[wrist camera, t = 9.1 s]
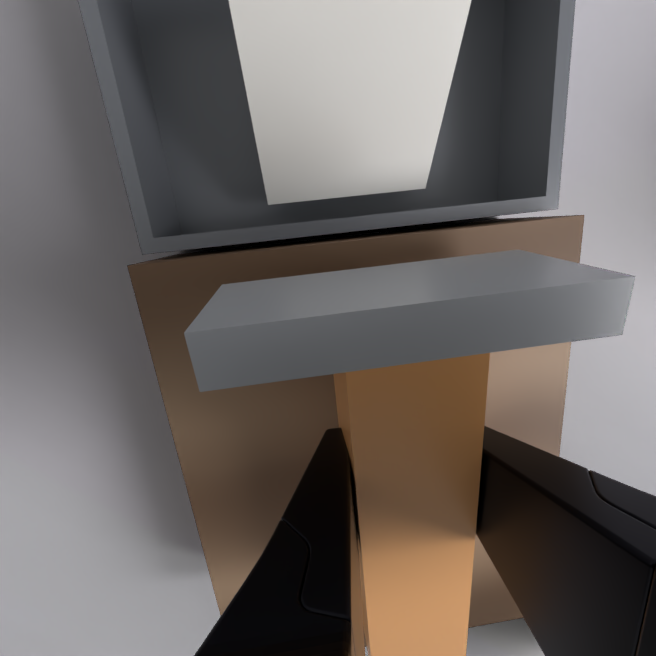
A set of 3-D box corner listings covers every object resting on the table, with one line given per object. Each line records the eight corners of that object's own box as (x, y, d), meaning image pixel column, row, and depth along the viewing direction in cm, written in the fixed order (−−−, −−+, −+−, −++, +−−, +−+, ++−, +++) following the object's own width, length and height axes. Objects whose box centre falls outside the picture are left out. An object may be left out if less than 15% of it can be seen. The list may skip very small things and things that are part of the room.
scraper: (488, 544, 12) (550, 651, 9) (284, 578, 11) (283, 702, 9) (518, 249, 8) (635, 275, 5) (222, 284, 8) (184, 332, 5)
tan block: (488, 529, 17) (542, 614, 14) (248, 569, 17) (235, 670, 13) (500, 218, 13) (584, 215, 9) (178, 254, 12) (126, 265, 9)
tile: (480, -36, 7) (454, -53, 8) (224, -20, 7) (226, -40, 7) (425, 188, 11) (412, 161, 12) (267, 204, 11) (266, 176, 12)
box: (500, 213, 13) (558, 209, 10) (177, 248, 12) (142, 254, 9) (509, -47, 11) (587, -147, 8) (117, -23, 10) (47, -123, 7)
